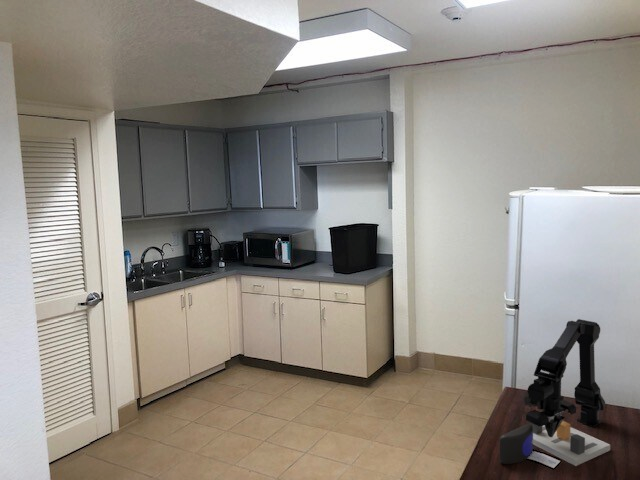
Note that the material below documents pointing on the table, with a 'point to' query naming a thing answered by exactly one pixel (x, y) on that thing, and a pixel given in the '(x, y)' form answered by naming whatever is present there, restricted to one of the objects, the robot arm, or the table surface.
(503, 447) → the leaning round-cornered charcoal block
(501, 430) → the table surface
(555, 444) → the breaker panel
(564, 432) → the block
